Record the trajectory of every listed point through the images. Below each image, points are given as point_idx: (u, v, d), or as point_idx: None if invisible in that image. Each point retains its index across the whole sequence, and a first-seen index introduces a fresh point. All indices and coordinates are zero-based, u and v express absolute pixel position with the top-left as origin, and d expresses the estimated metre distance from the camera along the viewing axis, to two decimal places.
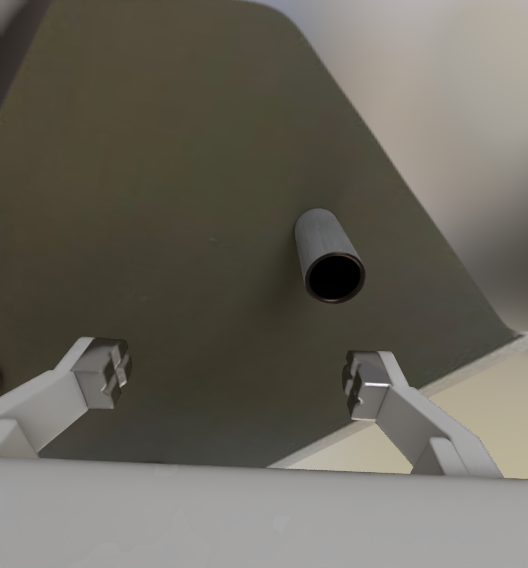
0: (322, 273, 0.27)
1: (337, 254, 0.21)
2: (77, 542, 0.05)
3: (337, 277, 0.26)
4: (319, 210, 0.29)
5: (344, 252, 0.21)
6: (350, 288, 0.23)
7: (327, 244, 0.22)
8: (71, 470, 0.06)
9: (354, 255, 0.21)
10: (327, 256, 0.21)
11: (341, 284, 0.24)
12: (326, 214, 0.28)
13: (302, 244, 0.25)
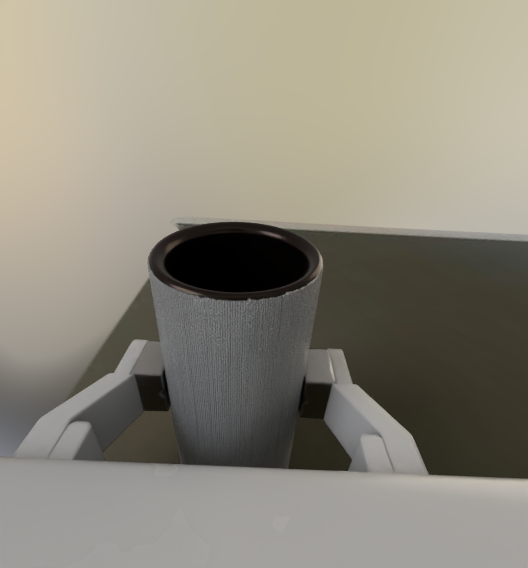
0: None
1: (168, 276, 0.07)
2: (77, 542, 0.05)
3: None
4: None
5: (154, 272, 0.07)
6: (234, 243, 0.10)
7: (182, 340, 0.07)
8: (71, 470, 0.06)
9: None
10: (193, 287, 0.06)
11: (249, 276, 0.10)
12: None
13: (260, 424, 0.08)
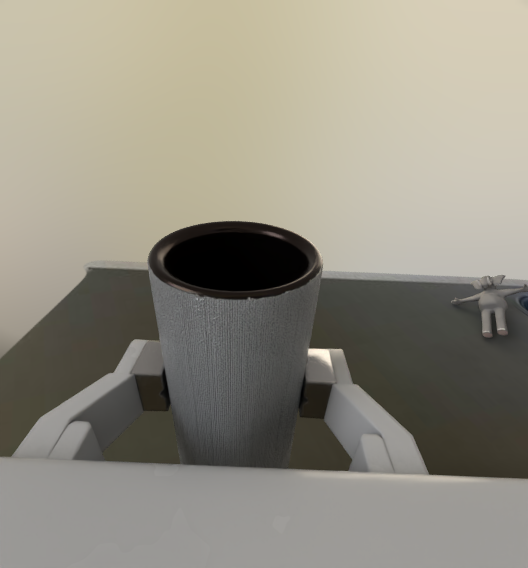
0: None
1: (168, 275, 0.07)
2: (77, 542, 0.05)
3: None
4: None
5: (154, 271, 0.07)
6: (234, 242, 0.10)
7: (182, 339, 0.07)
8: (71, 470, 0.06)
9: (148, 260, 0.08)
10: (193, 285, 0.06)
11: (249, 275, 0.10)
12: None
13: (260, 422, 0.08)
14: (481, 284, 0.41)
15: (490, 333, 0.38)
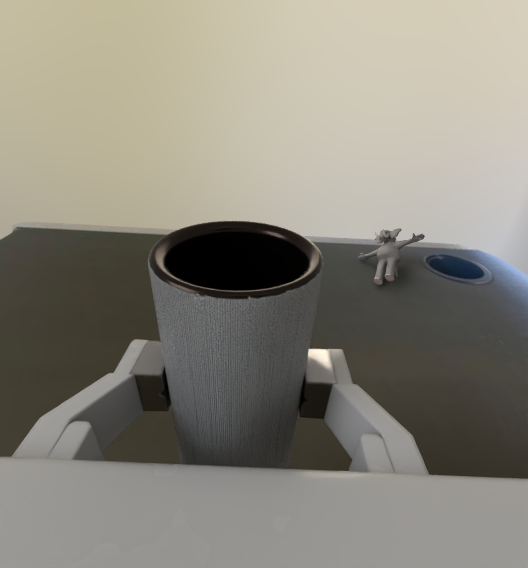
0: None
1: (168, 274, 0.07)
2: (77, 542, 0.05)
3: None
4: None
5: (154, 270, 0.07)
6: (234, 242, 0.10)
7: (182, 338, 0.07)
8: (71, 470, 0.06)
9: (149, 260, 0.08)
10: (194, 285, 0.06)
11: (250, 274, 0.10)
12: None
13: (260, 422, 0.08)
14: (379, 237, 0.44)
15: (380, 280, 0.41)
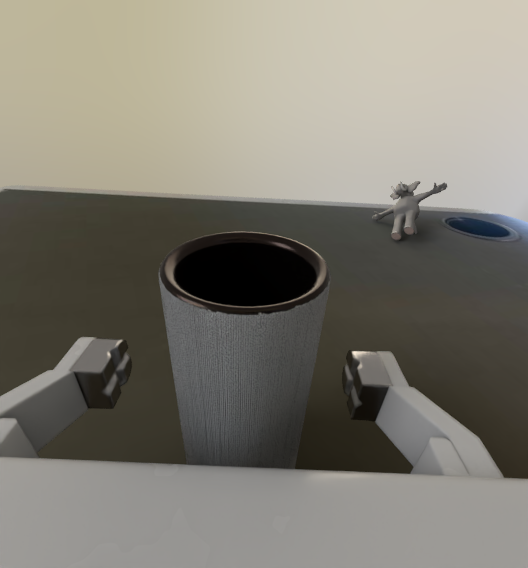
0: None
1: (180, 290, 0.07)
2: (77, 542, 0.05)
3: None
4: None
5: (165, 285, 0.07)
6: (241, 252, 0.10)
7: (193, 352, 0.07)
8: (71, 470, 0.06)
9: None
10: (205, 301, 0.06)
11: (256, 284, 0.11)
12: None
13: (268, 432, 0.09)
14: None
15: (398, 233, 0.37)
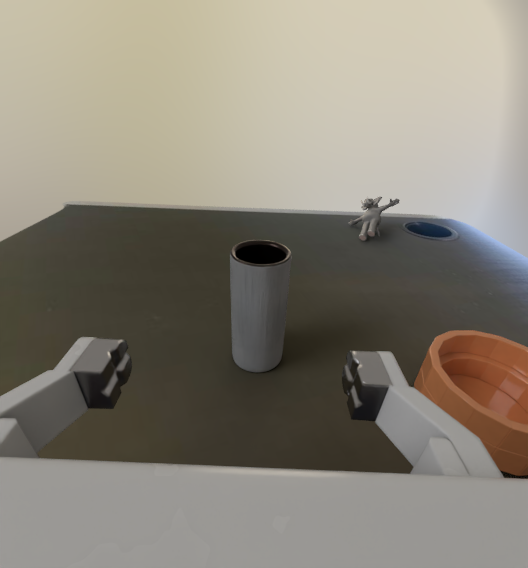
0: None
1: (240, 260, 0.21)
2: (77, 542, 0.05)
3: None
4: (238, 359, 0.26)
5: (235, 259, 0.21)
6: (257, 248, 0.24)
7: (243, 281, 0.21)
8: (71, 470, 0.06)
9: (230, 255, 0.22)
10: (249, 263, 0.20)
11: (264, 262, 0.25)
12: (234, 347, 0.25)
13: (269, 316, 0.23)
14: (363, 204, 0.54)
15: (364, 236, 0.51)
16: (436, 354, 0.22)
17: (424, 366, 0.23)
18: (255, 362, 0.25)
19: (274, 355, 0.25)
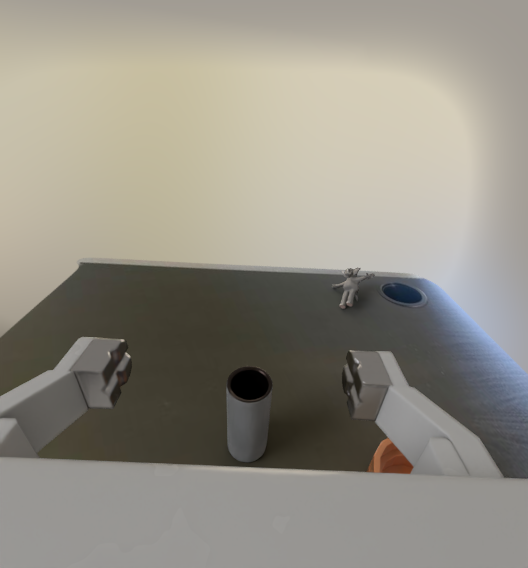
0: None
1: (234, 395, 0.28)
2: (77, 542, 0.05)
3: (253, 388, 0.33)
4: (232, 452, 0.33)
5: (230, 393, 0.29)
6: (247, 372, 0.32)
7: (236, 409, 0.29)
8: (71, 470, 0.06)
9: (227, 387, 0.29)
10: (240, 398, 0.28)
11: (252, 381, 0.32)
12: (229, 443, 0.33)
13: (255, 429, 0.30)
14: (344, 274, 0.61)
15: (343, 305, 0.58)
16: (378, 460, 0.30)
17: (370, 467, 0.30)
18: (245, 456, 0.32)
19: (260, 450, 0.33)
